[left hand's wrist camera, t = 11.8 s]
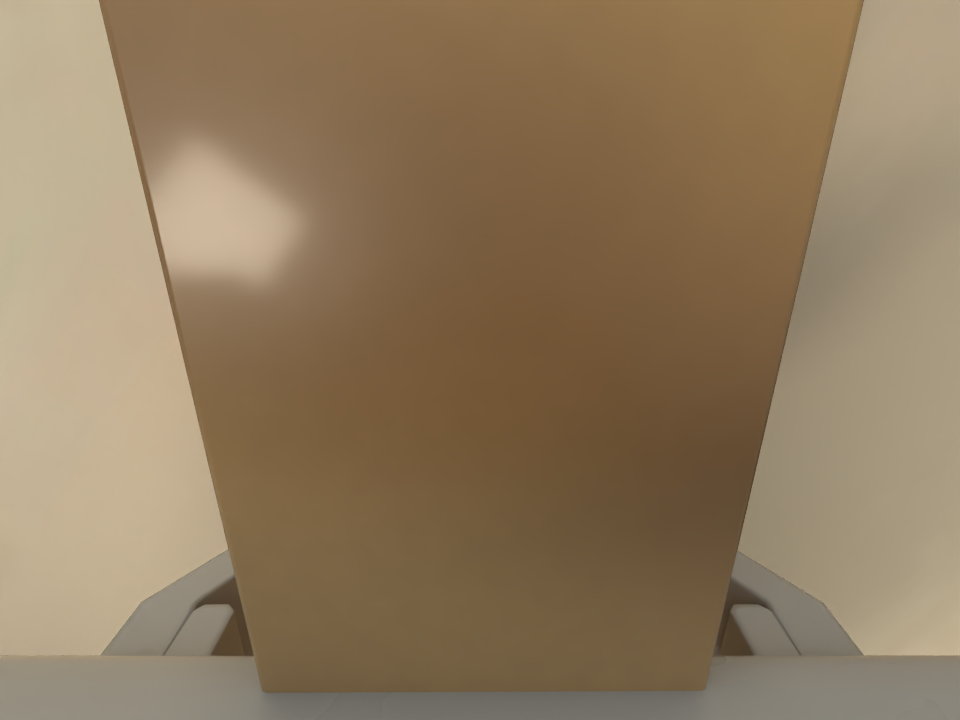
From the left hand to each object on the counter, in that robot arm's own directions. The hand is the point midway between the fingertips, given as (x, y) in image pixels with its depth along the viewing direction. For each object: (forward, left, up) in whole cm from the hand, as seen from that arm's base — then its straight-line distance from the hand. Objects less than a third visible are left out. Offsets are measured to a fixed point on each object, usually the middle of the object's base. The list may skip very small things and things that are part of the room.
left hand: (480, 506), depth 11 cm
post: (+33, -14, -3) cm, 36 cm away
